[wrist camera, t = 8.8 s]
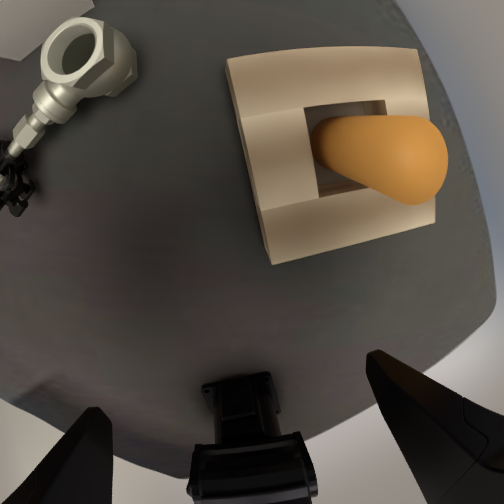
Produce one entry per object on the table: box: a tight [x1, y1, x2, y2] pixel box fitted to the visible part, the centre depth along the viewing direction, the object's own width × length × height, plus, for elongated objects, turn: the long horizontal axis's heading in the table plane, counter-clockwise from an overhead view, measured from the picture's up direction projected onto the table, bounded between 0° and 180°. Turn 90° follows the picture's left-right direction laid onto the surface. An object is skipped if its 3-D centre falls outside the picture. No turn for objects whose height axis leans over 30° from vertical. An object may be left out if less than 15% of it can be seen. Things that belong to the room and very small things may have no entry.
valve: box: [0, 16, 138, 217], centre depth 12 cm, size 7×7×12 cm
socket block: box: [225, 46, 435, 265], centre depth 17 cm, size 12×12×3 cm
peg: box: [310, 115, 448, 205], centre depth 14 cm, size 4×4×9 cm
